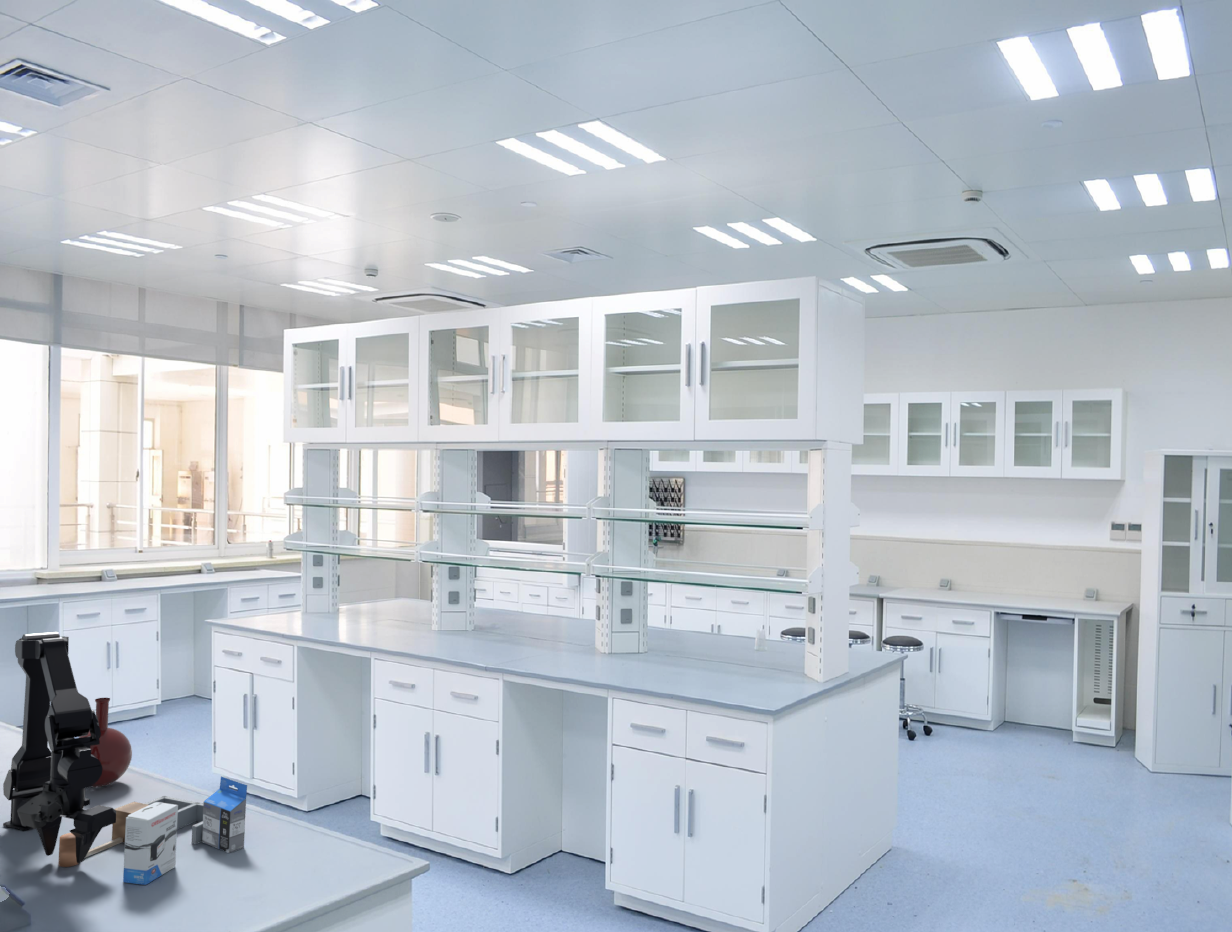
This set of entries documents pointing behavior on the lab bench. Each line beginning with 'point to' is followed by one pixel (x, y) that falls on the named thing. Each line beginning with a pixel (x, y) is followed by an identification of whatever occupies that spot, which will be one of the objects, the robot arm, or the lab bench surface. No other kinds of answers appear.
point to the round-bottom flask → (110, 747)
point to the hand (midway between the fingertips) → (64, 858)
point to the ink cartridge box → (225, 817)
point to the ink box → (150, 843)
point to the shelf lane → (186, 815)
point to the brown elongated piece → (118, 836)
